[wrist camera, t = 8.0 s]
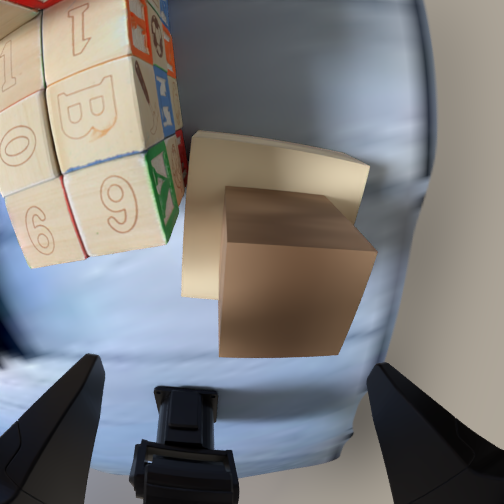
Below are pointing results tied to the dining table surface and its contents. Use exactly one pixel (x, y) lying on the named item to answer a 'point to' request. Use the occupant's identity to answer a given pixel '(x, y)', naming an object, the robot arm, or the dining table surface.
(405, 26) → the dining table surface
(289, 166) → the birch block
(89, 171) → the stack of blocks
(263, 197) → the walnut cube
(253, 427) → the dining table surface
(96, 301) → the dining table surface
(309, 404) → the dining table surface
